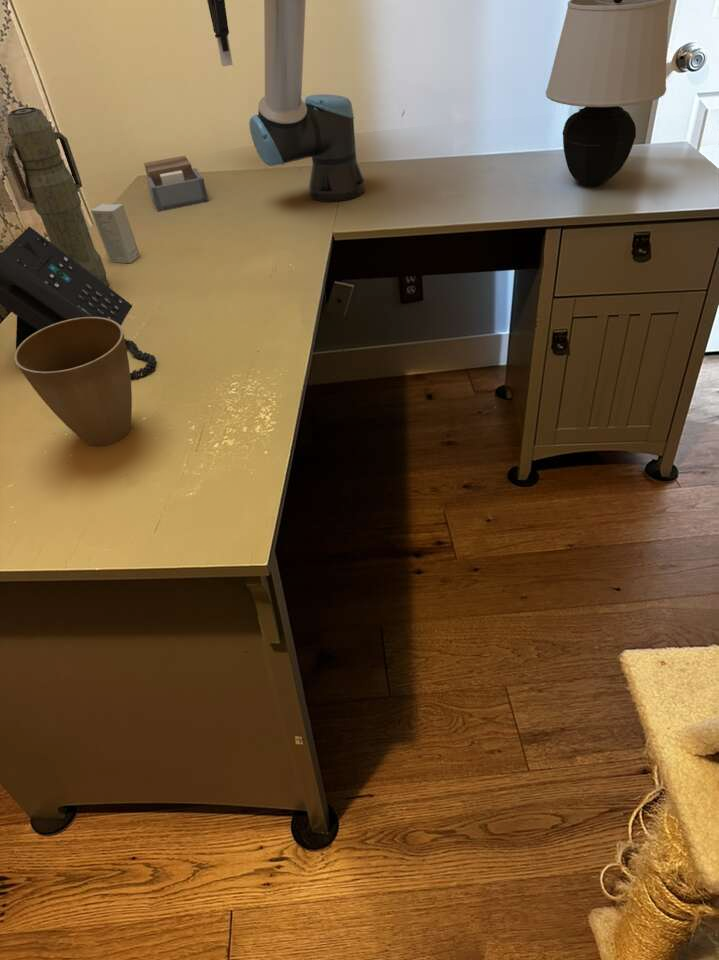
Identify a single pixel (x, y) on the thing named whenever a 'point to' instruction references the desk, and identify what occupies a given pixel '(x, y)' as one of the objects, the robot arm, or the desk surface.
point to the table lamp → (607, 79)
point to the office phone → (56, 291)
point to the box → (178, 192)
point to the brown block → (168, 168)
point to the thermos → (51, 186)
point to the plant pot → (82, 376)
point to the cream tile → (172, 177)
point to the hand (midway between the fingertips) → (227, 65)
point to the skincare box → (115, 233)
